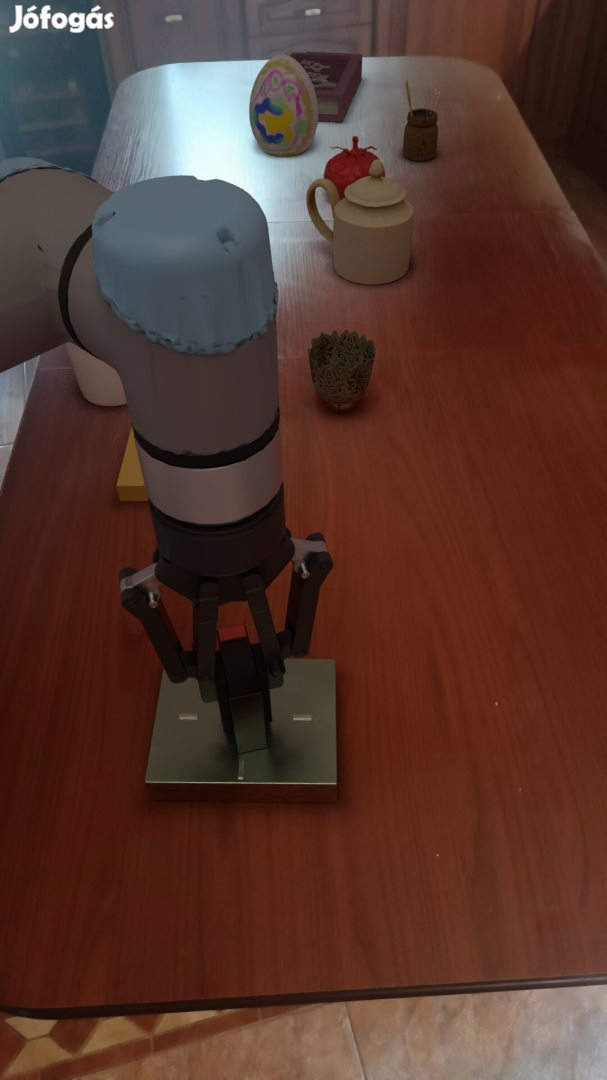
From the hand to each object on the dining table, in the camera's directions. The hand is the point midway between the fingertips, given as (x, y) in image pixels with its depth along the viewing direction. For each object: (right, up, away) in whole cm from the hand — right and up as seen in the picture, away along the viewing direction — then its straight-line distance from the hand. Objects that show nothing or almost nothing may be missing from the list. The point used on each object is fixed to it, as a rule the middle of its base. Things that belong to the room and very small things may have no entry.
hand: (245, 711), depth 61 cm
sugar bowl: (+12, +52, +55) cm, 77 cm away
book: (+7, +103, +103) cm, 146 cm away
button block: (-8, +21, +25) cm, 34 cm away
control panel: (0, -3, +3) cm, 4 cm away
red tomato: (+13, +69, +71) cm, 100 cm away
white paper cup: (-18, +31, +36) cm, 51 cm away
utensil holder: (+25, +82, +82) cm, 118 cm away
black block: (0, -1, +1) cm, 1 cm away
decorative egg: (+1, +85, +85) cm, 120 cm away
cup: (+9, +28, +32) cm, 44 cm away
